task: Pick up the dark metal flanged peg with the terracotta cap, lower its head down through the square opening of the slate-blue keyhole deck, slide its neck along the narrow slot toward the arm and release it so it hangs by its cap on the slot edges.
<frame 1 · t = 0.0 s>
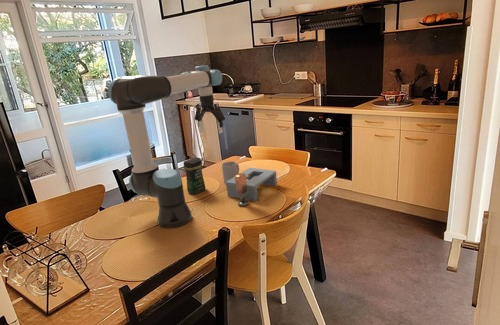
hand: (211, 132, 190), 28 cm above the table, fingers open, 13 cm apart
keyhole deck: (253, 190, 176), on the table
coffee jar: (197, 191, 184), on the table
peg: (243, 204, 162), on the table
mug: (233, 181, 193), on the table
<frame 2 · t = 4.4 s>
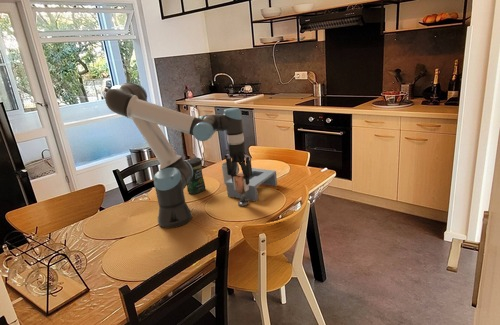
hand: (241, 189, 159), 8 cm above the table, fingers closed on peg, 5 cm apart
peg: (243, 204, 162), on the table, touching gripper
everything else where it was.
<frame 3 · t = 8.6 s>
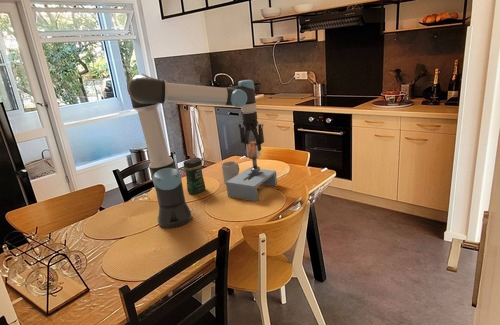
hand: (253, 156, 174), 18 cm above the table, fingers closed on peg, 5 cm apart
peg: (255, 170, 177), point 10 cm above the table, touching gripper
everything else where it was.
when the fingers open (10 cm above the table, at t = 13.2 s): peg drops 1 cm, resting on keyhole deck.
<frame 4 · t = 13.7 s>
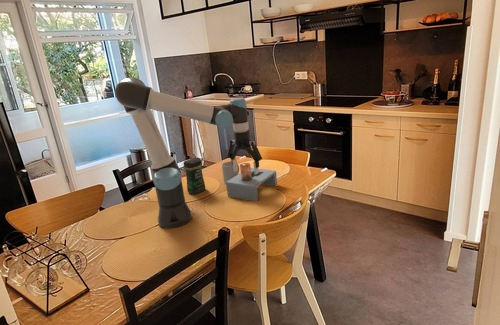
hand: (246, 172, 169), 12 cm above the table, fingers open, 12 cm apart
peg: (248, 191, 173), point 1 cm above the table, touching keyhole deck
everything else where it was.
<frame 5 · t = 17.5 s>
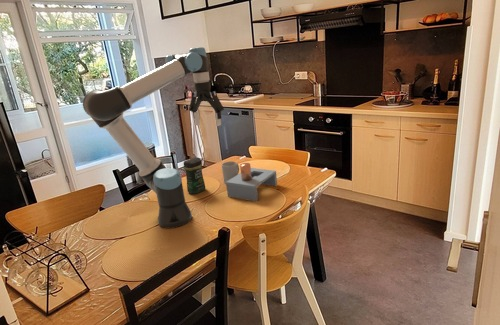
hand: (208, 125, 167), 37 cm above the table, fingers open, 13 cm apart
nothing on the table moved.
at the end: peg 0.3 cm from the target spot on the keyhole deck, point 1.0 cm above the keyhole deck's base; peg touching keyhole deck; peg tilted 0° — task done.
